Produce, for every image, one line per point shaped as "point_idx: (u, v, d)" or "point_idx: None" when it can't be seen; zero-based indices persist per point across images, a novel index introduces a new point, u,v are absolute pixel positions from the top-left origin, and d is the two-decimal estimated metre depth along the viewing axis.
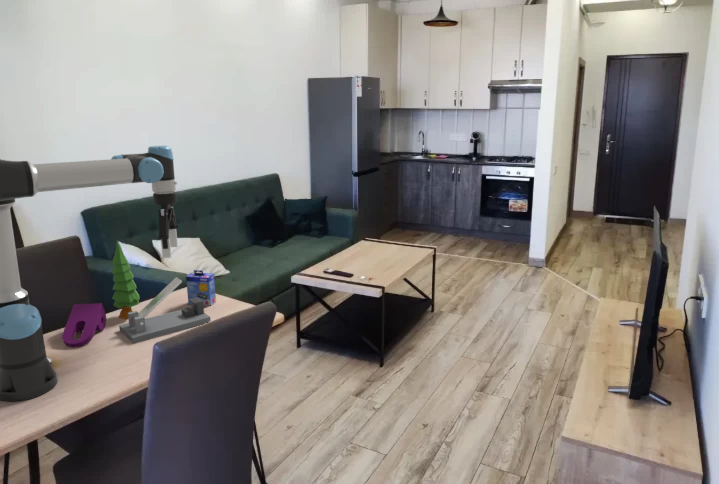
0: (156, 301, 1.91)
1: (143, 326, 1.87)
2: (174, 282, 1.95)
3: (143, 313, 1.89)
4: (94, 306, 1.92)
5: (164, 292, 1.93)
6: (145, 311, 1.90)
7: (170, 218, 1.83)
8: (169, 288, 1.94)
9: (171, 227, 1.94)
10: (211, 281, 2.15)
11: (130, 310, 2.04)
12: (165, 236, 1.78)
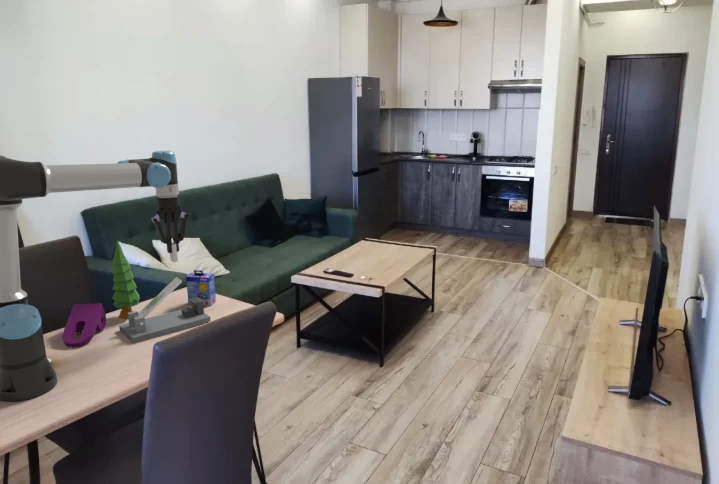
0: (156, 301, 1.91)
1: (143, 326, 1.87)
2: (174, 282, 1.95)
3: (143, 313, 1.89)
4: (94, 306, 1.91)
5: (164, 292, 1.93)
6: (145, 311, 1.90)
7: (168, 223, 1.88)
8: (169, 288, 1.94)
9: (174, 241, 1.93)
10: (211, 281, 2.15)
11: (130, 310, 2.04)
12: (163, 241, 1.89)
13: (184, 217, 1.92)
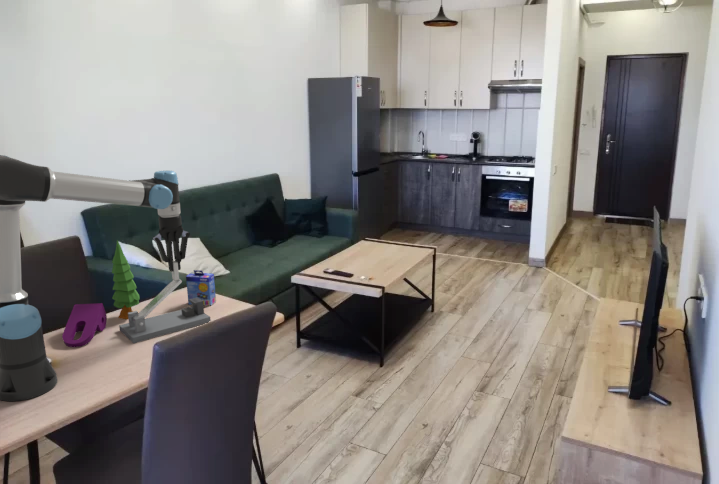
0: (156, 301, 1.91)
1: (143, 326, 1.87)
2: (174, 282, 1.95)
3: (143, 313, 1.89)
4: (94, 306, 1.91)
5: (164, 292, 1.93)
6: (145, 311, 1.90)
7: (170, 242, 1.90)
8: (169, 288, 1.94)
9: (175, 259, 1.94)
10: (211, 281, 2.15)
11: (130, 310, 2.04)
12: (164, 260, 1.91)
13: (186, 236, 1.94)
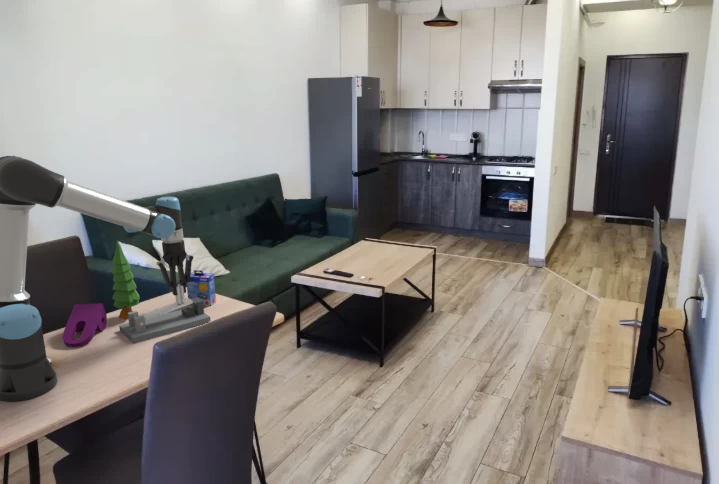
0: (162, 310, 1.93)
1: (143, 326, 1.87)
2: (185, 301, 1.99)
3: (146, 316, 1.90)
4: (95, 306, 1.91)
5: (172, 306, 1.96)
6: (148, 315, 1.91)
7: (173, 267, 1.92)
8: (178, 304, 1.97)
9: (181, 283, 1.97)
10: (211, 281, 2.15)
11: (130, 310, 2.04)
12: (168, 284, 1.93)
13: (189, 259, 1.96)
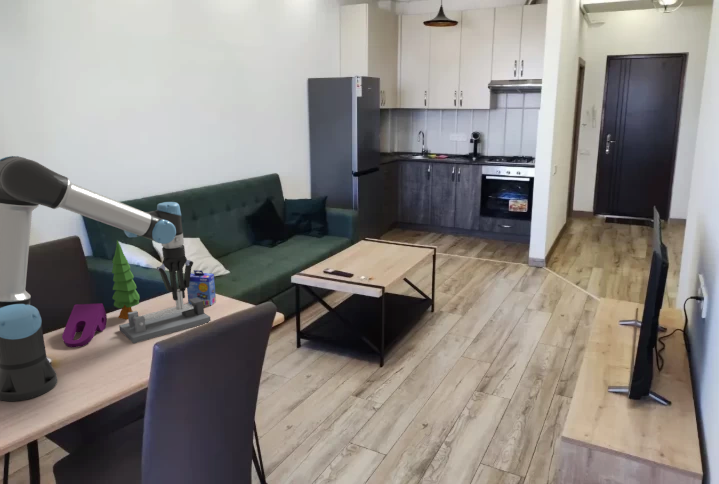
0: (163, 313, 1.94)
1: (143, 326, 1.87)
2: (186, 306, 2.00)
3: (146, 317, 1.90)
4: (95, 306, 1.91)
5: (173, 309, 1.97)
6: (149, 316, 1.91)
7: (173, 272, 1.93)
8: None
9: (180, 288, 1.97)
10: (211, 281, 2.15)
11: (130, 310, 2.04)
12: (168, 289, 1.94)
13: (189, 265, 1.97)
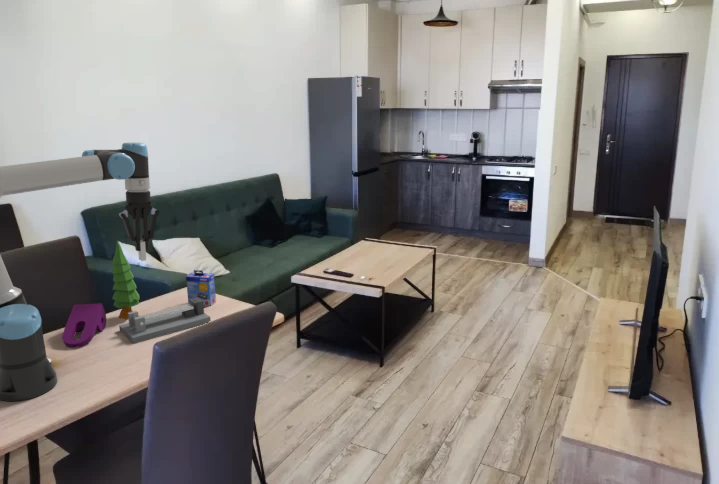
0: (163, 313, 1.94)
1: (143, 326, 1.87)
2: (186, 306, 2.00)
3: (146, 317, 1.90)
4: (94, 306, 1.91)
5: (173, 309, 1.97)
6: (149, 316, 1.91)
7: (137, 219, 1.78)
8: (179, 308, 1.98)
9: (143, 238, 1.82)
10: (211, 281, 2.15)
11: (130, 310, 2.04)
12: (130, 238, 1.78)
13: (155, 213, 1.82)
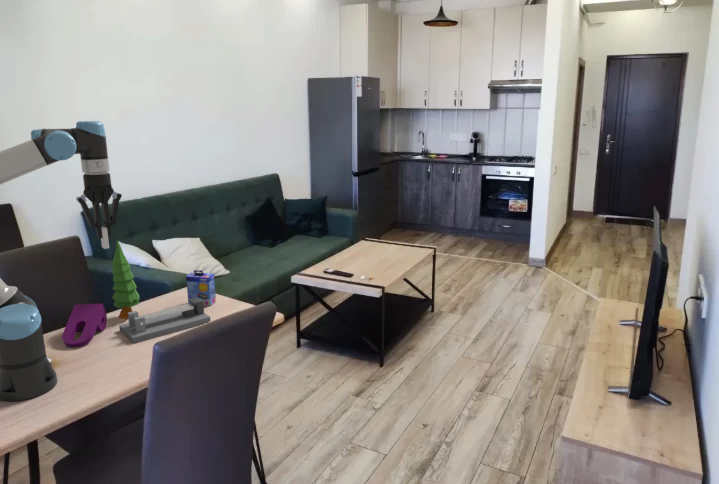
0: (163, 313, 1.94)
1: (143, 326, 1.87)
2: (186, 306, 2.00)
3: (146, 317, 1.90)
4: (95, 306, 1.91)
5: (173, 309, 1.97)
6: (149, 316, 1.91)
7: (96, 204, 1.65)
8: (179, 308, 1.98)
9: (105, 225, 1.70)
10: (211, 281, 2.15)
11: (130, 310, 2.04)
12: (91, 224, 1.66)
13: (116, 198, 1.69)
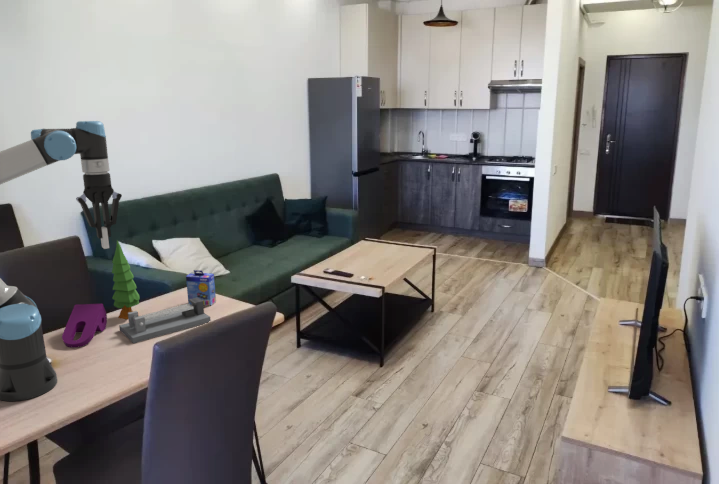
0: (163, 313, 1.94)
1: (143, 326, 1.87)
2: (186, 306, 2.00)
3: (146, 317, 1.90)
4: (95, 306, 1.91)
5: (173, 309, 1.97)
6: (149, 316, 1.91)
7: (96, 204, 1.65)
8: (179, 308, 1.98)
9: (105, 225, 1.70)
10: (211, 281, 2.15)
11: (130, 310, 2.04)
12: (90, 224, 1.66)
13: (116, 198, 1.69)
